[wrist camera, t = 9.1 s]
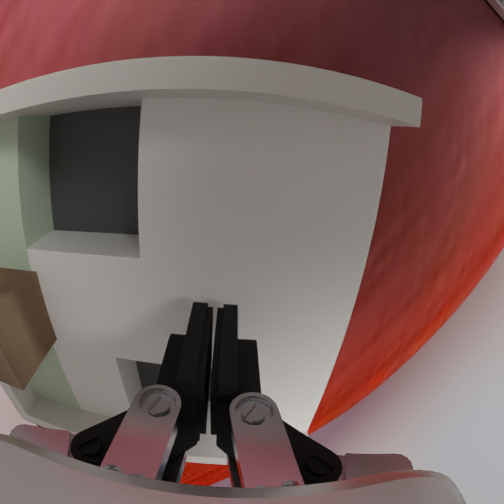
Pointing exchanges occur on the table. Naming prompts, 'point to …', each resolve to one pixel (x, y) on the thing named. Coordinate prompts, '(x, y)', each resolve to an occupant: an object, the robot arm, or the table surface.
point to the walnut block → (22, 327)
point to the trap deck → (190, 220)
